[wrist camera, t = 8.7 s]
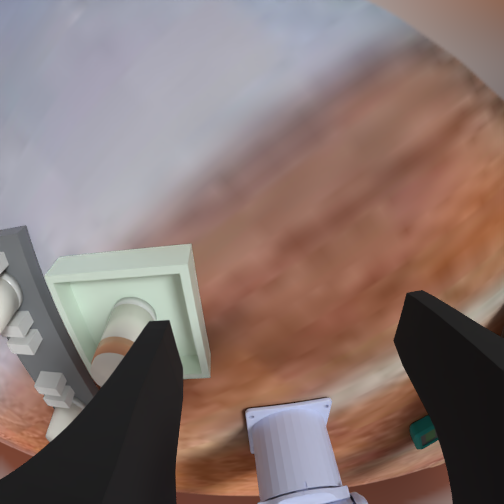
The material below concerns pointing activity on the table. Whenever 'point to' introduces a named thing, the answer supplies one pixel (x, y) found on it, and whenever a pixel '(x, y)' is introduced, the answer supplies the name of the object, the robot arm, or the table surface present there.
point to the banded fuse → (120, 335)
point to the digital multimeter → (423, 432)
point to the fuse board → (41, 328)
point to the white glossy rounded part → (9, 298)
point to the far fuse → (63, 418)
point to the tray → (132, 285)
